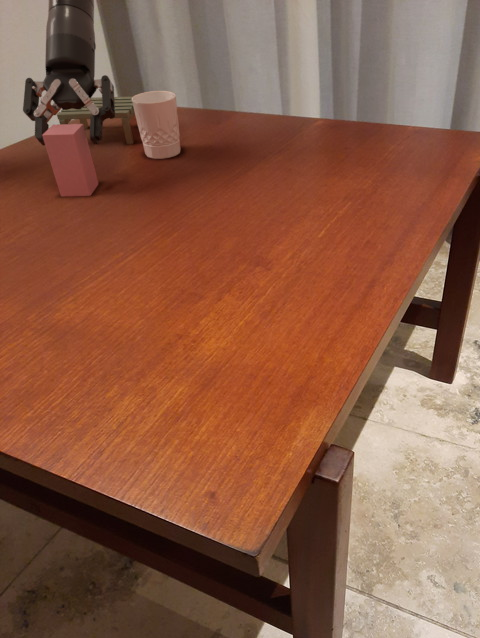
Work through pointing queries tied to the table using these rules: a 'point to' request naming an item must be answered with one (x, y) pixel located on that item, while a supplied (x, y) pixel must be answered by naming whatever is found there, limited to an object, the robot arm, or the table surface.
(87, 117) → the rack
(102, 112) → the robot arm
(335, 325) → the table surface
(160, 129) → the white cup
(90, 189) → the pink box
